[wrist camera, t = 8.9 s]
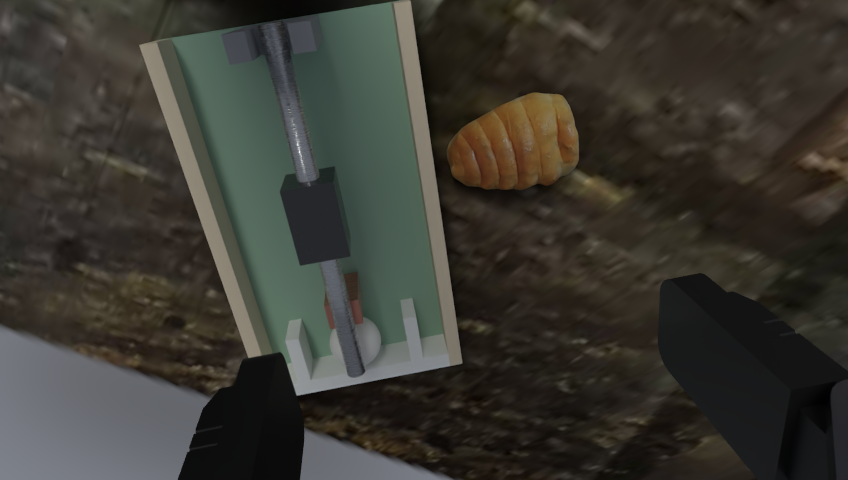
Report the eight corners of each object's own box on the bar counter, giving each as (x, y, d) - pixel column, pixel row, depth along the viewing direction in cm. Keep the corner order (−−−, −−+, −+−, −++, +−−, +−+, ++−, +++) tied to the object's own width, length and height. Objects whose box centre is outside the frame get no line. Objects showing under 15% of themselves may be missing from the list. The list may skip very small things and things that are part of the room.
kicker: (255, 22, 34) (234, 29, 28) (306, 14, 35) (296, 19, 29) (336, 337, 45) (334, 389, 39) (375, 329, 45) (378, 381, 39)
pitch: (160, 39, 36) (108, 53, 28) (404, -1, 36) (418, 2, 29) (270, 370, 47) (254, 443, 40) (454, 335, 48) (473, 400, 40)
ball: (324, 346, 40) (335, 383, 43) (378, 336, 40) (386, 373, 43) (324, 310, 44) (335, 346, 46) (374, 301, 44) (382, 337, 46)
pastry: (456, 199, 43) (465, 218, 39) (435, 116, 40) (443, 127, 37) (572, 167, 43) (591, 182, 39) (560, 81, 40) (579, 89, 37)
